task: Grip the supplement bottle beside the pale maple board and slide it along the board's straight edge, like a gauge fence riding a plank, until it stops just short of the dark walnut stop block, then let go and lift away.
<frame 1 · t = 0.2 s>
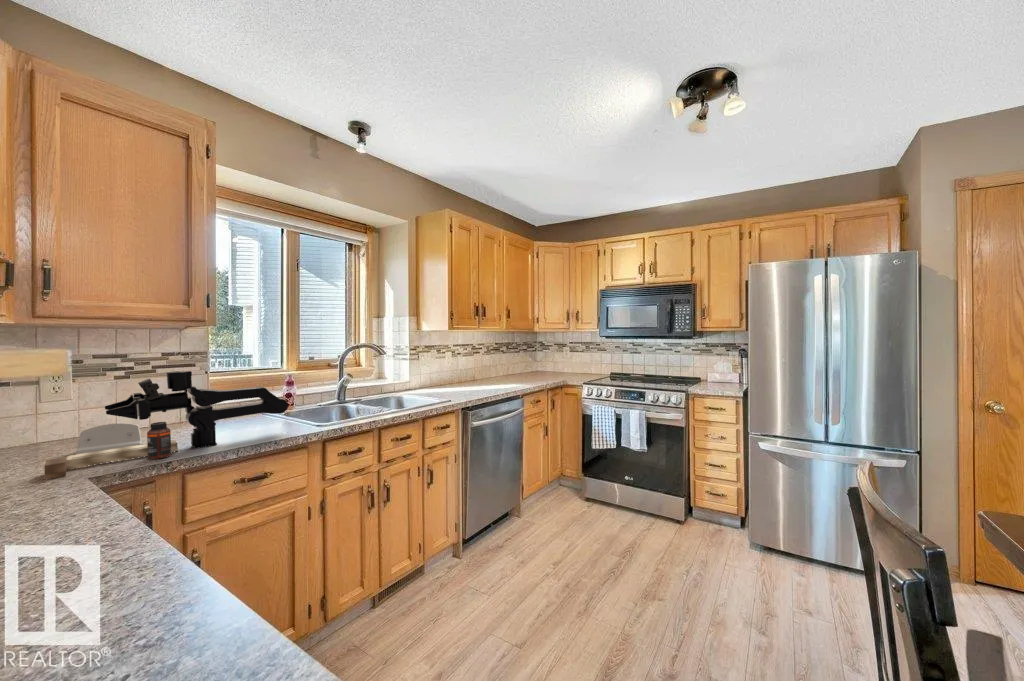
hand: (105, 410, 132), 16 cm above the counter, tool horizontal, fingers open, 9 cm apart
supplement bottle: (159, 457, 137), on the counter
walnut stop block: (56, 474, 121), on the counter
maple board: (125, 458, 136), on the counter
grey curved bracket: (111, 450, 147), on the counter
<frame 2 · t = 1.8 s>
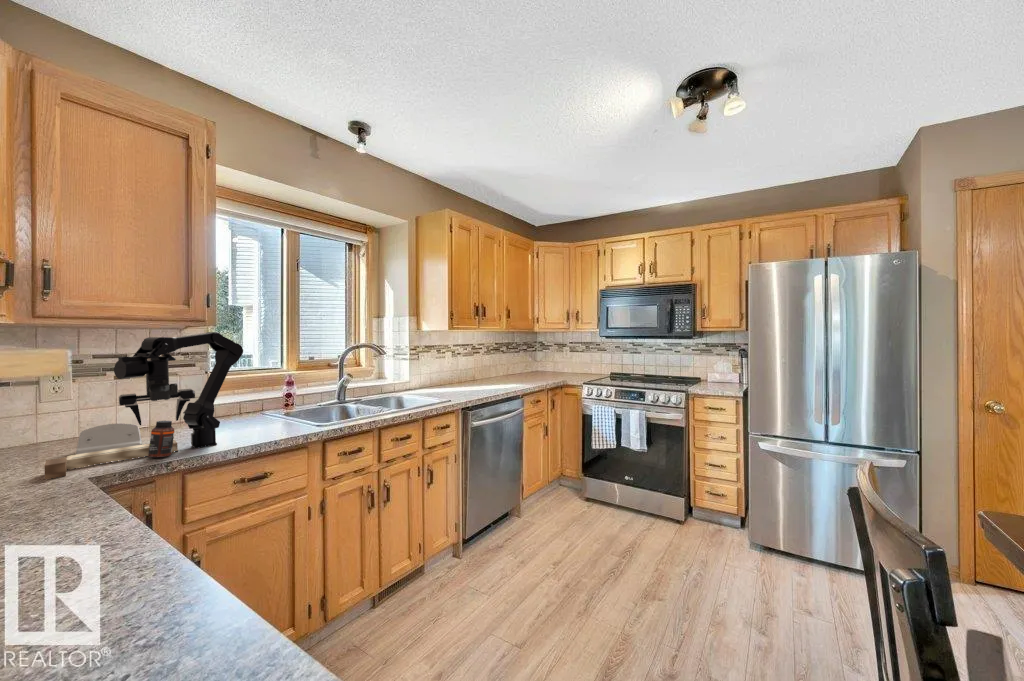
hand: (159, 422, 137), 11 cm above the counter, tool pointing down, fingers open, 9 cm apart
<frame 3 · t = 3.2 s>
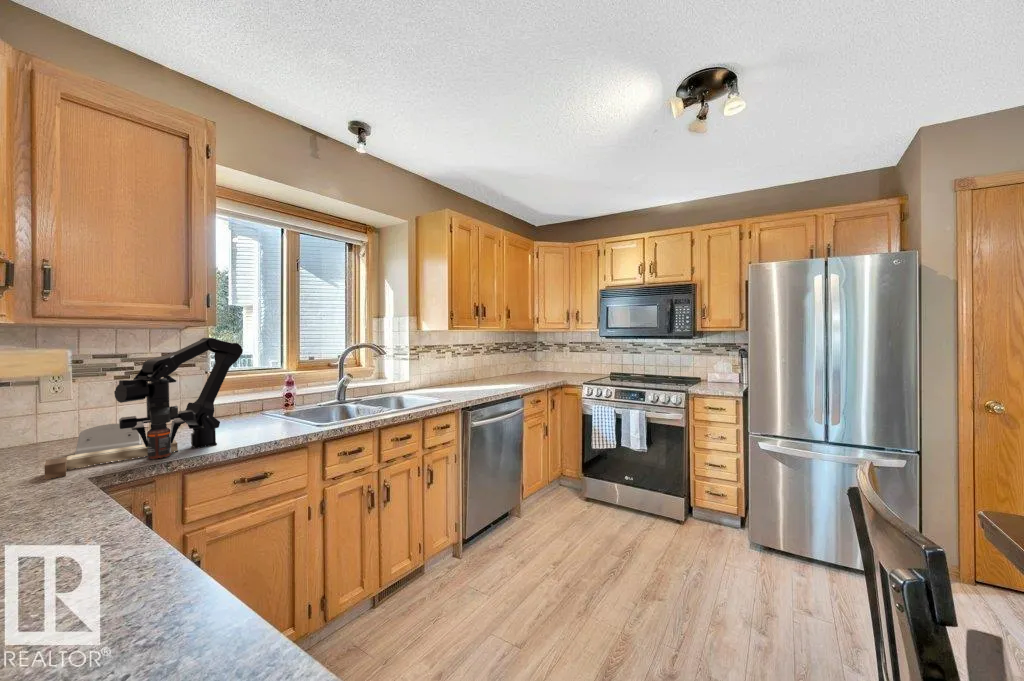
hand: (159, 444, 137), 4 cm above the counter, tool pointing down, fingers closed on supplement bottle, 6 cm apart
supplement bottle: (159, 457, 137), on the counter, touching gripper
everything else where it was.
when the fingers open (4 cm above the counter, at t = 4.2 s): supplement bottle moves 8 cm, on the counter.
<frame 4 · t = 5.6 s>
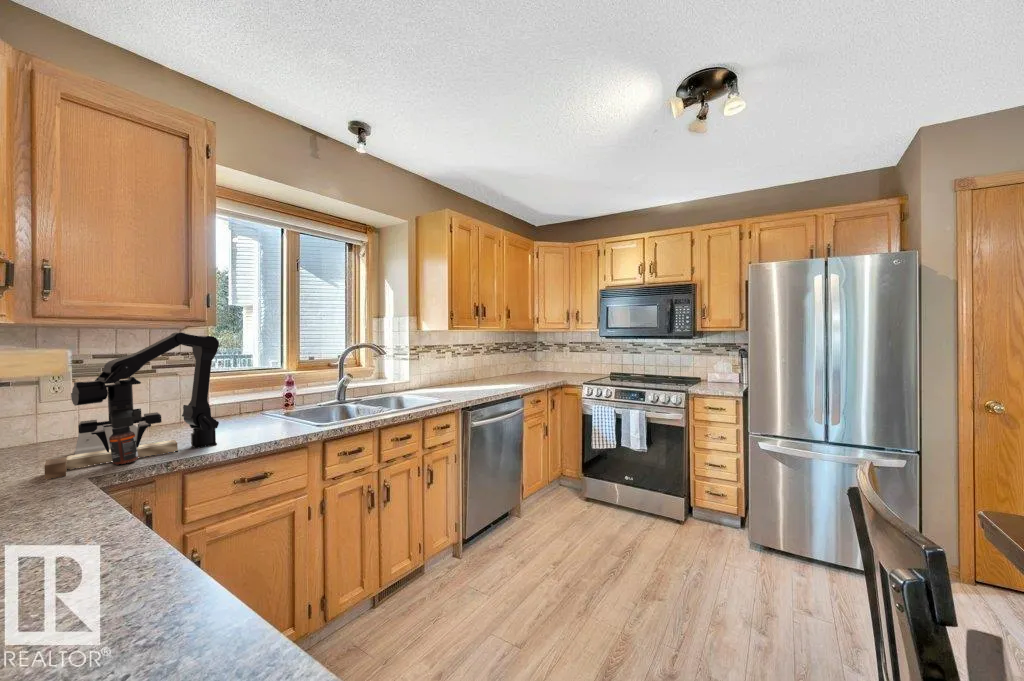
hand: (122, 449, 131), 4 cm above the counter, tool pointing down, fingers open, 6 cm apart
supplement bottle: (126, 462, 131), on the counter, touching gripper
everything else where it was.
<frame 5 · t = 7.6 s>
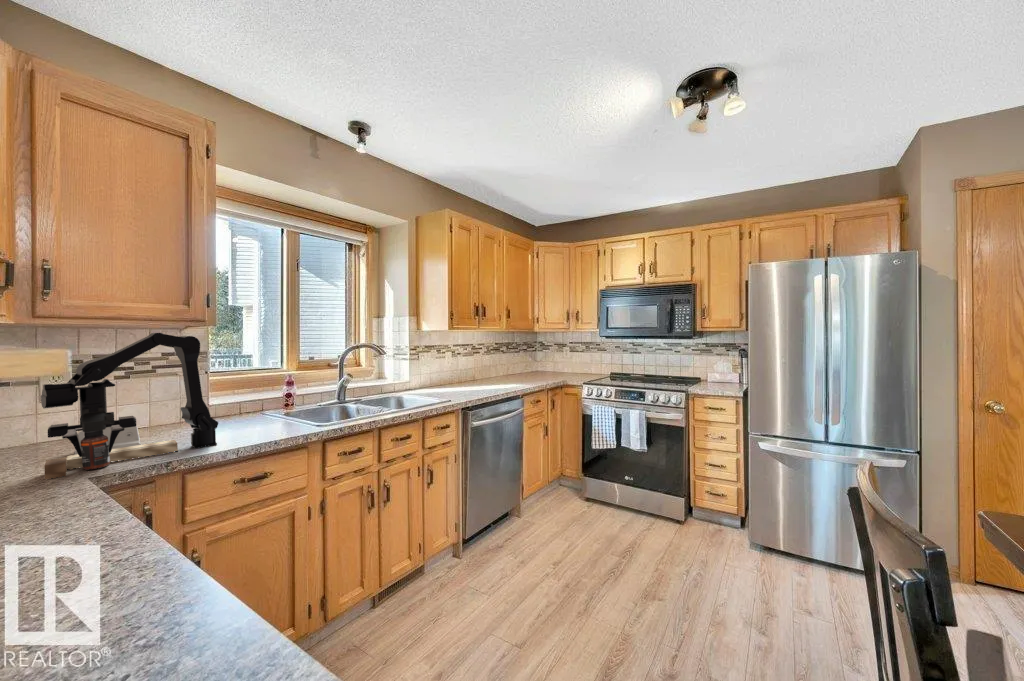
hand: (95, 454, 127), 4 cm above the counter, tool pointing down, fingers closed on supplement bottle, 6 cm apart
supplement bottle: (96, 467, 127), on the counter, touching gripper
everything else where it was.
when the fingers open (4 cm above the counter, at t = 7.6 s): supplement bottle stays where it is, on the counter.
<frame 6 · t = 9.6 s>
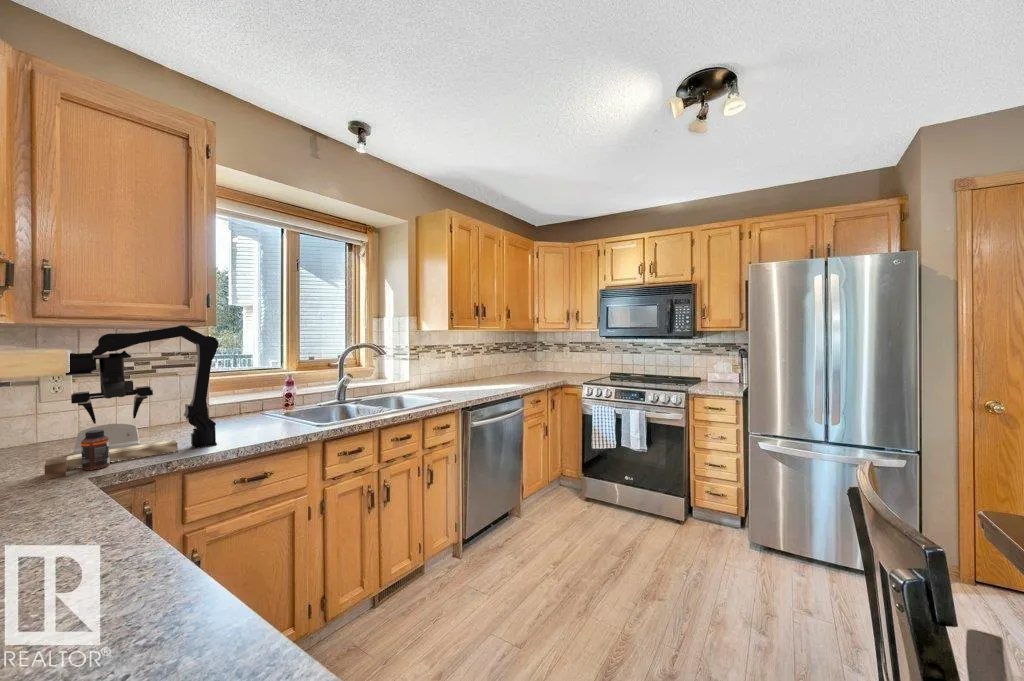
hand: (115, 420, 134), 13 cm above the counter, tool pointing down, fingers open, 9 cm apart
supplement bottle: (96, 468, 127), on the counter
everything else where it was.
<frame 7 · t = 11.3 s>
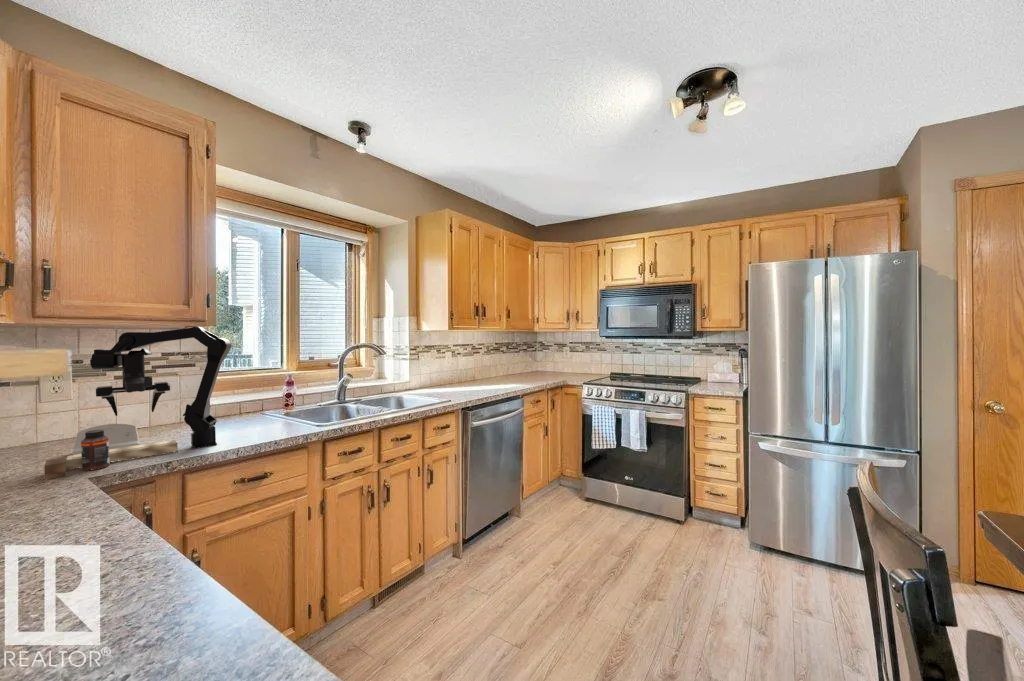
hand: (134, 413, 144), 13 cm above the counter, tool pointing down, fingers open, 9 cm apart
nothing on the counter moved.
at the end: supplement bottle 0.4 cm from the target spot, on the counter; supplement bottle tilted 0°; the gripper is holding nothing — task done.
